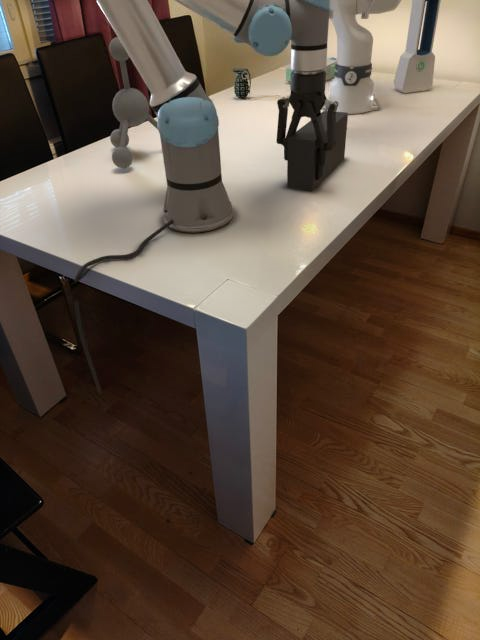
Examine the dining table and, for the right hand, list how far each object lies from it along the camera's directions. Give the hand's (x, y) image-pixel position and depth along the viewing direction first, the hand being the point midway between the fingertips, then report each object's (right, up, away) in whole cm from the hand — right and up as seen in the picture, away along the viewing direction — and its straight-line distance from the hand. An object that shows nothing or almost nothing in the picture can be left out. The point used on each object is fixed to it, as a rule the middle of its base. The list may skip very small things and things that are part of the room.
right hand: (346, 18), depth 126 cm
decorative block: (+4, +25, +81) cm, 85 cm away
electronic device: (+38, +9, +59) cm, 70 cm away
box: (-8, -40, -1) cm, 41 cm away
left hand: (-12, -43, -9) cm, 46 cm away
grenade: (-27, +7, +61) cm, 67 cm away
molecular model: (-55, -30, +16) cm, 64 cm away
